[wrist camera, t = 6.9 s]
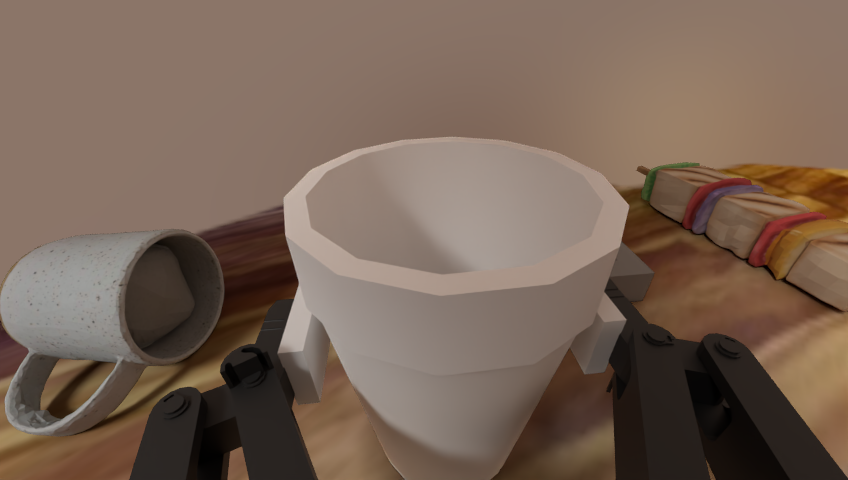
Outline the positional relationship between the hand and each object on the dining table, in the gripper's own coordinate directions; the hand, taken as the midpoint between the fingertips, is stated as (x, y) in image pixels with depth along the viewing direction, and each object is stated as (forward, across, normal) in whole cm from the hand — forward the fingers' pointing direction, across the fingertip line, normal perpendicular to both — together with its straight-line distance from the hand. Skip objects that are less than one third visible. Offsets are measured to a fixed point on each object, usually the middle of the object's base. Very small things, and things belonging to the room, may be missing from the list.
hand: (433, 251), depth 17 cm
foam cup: (-4, 0, -8) cm, 9 cm away
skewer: (+10, +27, -8) cm, 30 cm away
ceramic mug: (+2, -18, -8) cm, 20 cm away
